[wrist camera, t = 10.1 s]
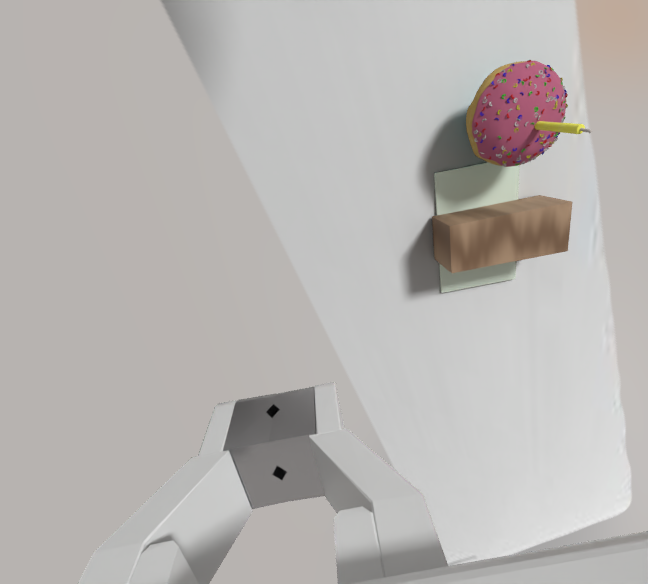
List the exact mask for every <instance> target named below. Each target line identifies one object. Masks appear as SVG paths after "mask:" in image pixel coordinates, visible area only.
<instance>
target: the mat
mask: <svg viewBox="0 0 648 584" xmlns="http://www.w3.org/2000/svg"><path fill="white" fill-rule="evenodd" d="M434 181H435V198H436V216H437V215H442V214H447V213H452V212H458V211H463V210H468V209H473V208H478V207H483V206H488V205H493V204H498V203H503V202H508V201H513V200H518V188H519V165H518V166H511V167H504V166H498V165H495V164H491V163H489V162H487V163H482V164H477V165H472V166H467V167H462V168H457V169H452V170H447V171H442V172H437V173H434ZM439 269H440V286H441V293H444V292H449V291H455V290H460V289H465V288H470V287H475V286H480V285H486V284H491V283H496V282H501V281H506V280H512V279H515V274H516V261H513V262H508V263H503V264H498V265H493V266H487V267H482V268H477V269H472V270H467V271H462V272H457V273H451V272H449V271H448V270H447V269H446V268H445V267H443V266H442V265H441V264H440V263H439Z"/></svg>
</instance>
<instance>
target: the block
mask: <svg viewBox="0 0 648 584" xmlns="http://www.w3.org/2000/svg"><path fill="white" fill-rule="evenodd" d="M571 210H572V202H570V201H565V200H561V199H556V198H551V197H546V196H541V195H539V196H533V197H528V198H523V199H518V200H513V201H508V202H503V203H498V204H493V205H488V206H483V207H478V208H473V209H468V210H463V211H458V212H452V213H447V214H442V215H437V216H432V226H433V242H434V258H435V260H436V261H438V262H439V263H440V264H441V265H442V266H443V267H445V268H446V269H447V270H448V271H449V272H451V273H457V272H462V271H467V270H472V269H477V268H482V267H487V266H493V265H498V264H503V263H508V262H513V261H518V260H523V259H529V258H534V257H539V256H544V255H549V254H554V253H560V252H565V251H568V241H569V231H570V220H571Z"/></svg>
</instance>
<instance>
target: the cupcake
mask: <svg viewBox="0 0 648 584" xmlns="http://www.w3.org/2000/svg"><path fill="white" fill-rule="evenodd" d="M548 66H549V65H547V66H546V65H544V64H542V63H540V62H537V61H531V60H529V61H524V62H515V63H511V64H507V65H504V66H501V67H499V68H497V69H496V70H494V71H493V72H492V73H491V74H490V75H489V76H488V77H487V78H486V79H485V80H484V82H483V83H482V85H481V86H480V88H479V89H478V91H477V93H476V95H475V98H474V100H473V102H472V103H471V105H470V106H469V108H468V110H467V116H466V128H467V134H468V137H469V141H470V144H471V146H472V149H473V152H474V154H475V155H476V156H477V157H478V158H480V159H483V160H485V161H487V162H489V163H491V164H495V165H498V166H504V167H511V166H518V165H521V164H524V163H526V162H529V161H531V160H534V159H535V158H536V157H537V156H539V155H540V154H542V155H543V153H544V151H547V150H548V149H549V148H548V147H551V146H552V144H553V143H554V141H557V139H558V138H557V137H558V136H557V135H559V134H560V132H564V133H574V134H581V133H582V132H589V133H591V132H592V130H590V129H584V128H585V126H584V125H583V124H571V123H563V121H564V119H565V117H564V116H565V108H567V106H568V105H567V104H566V97H567V93H566V90H564V89H565V86H563V84H562V78H559V77H558V75H557V74H556V73H555V72H554V71H553V68H551V67H550V66H549V67H548ZM560 79H561V80H560ZM564 91H565V92H564ZM565 96H566V97H565ZM555 138H556V139H555ZM554 139H555V140H554ZM550 145H551V146H550Z"/></svg>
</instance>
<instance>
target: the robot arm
mask: <svg viewBox="0 0 648 584" xmlns="http://www.w3.org/2000/svg"><path fill="white" fill-rule="evenodd" d="M320 496H325V497H326V498H327V500H328V501H329V503H330V504H331V506H332V507H333V509H334V510H335V511H336V513H337V515H336V516H335V518H334V534H335V547H336V562H337V578H338V584H648V531H646V532H639V533H633V534H628V535H622V536H617V537H611V538H606V539H600V540H594V541H588V542H583V543H577V544H571V545H566V546H560V547H554V548H548V549H543V550H537V551H531V552H526V553H520V554H514V555H509V556H503V557H497V558H492V559H486V560H480V561H475V562H469V563H463V564H458V565H452V566H448V564H447V561H446V558H445V556H444V553H443V550H442V547H441V544H440V541H439V538H438V535H437V533H436V530H435V527H434V524H433V521H432V518H431V515H430V512H429V510H428V507H427V504H426V501H425V498H424V495H423V494H422V493H421V492H420V491H419V490H418V489H417V488H416V487H414V486H413V485H412V484H411V483H410V482H409V481H407V480H406V479H405V478H404V477H403V476H402V475H401V474H399V473H398V472H397V471H396V470H395V469H394V468H392V467H391V466H390V465H389V464H388V463H387V462H386V461H384V460H383V459H382V458H381V457H380V456H379V455H377V454H376V453H375V452H374V451H373V450H372V449H370V448H369V447H368V446H367V445H366V444H365V443H364V442H362V441H361V440H360V439H359V438H358V437H357V436H355V435H354V434H353V433H352V432H351V431H350V430H349V429H344V424H343V419H342V414H341V409H340V405H339V400H338V394H337V390H336V386H335V383H334V382H330V383H326V384H321V385H317V386H315V387H310V388H305V389H300V390H294V391H289V392H284V393H279V394H271V395H265V396H259V397H253V398H247V399H241V400H238V401H231V402H224V403H219V404H218V405H216V407H215V408H214V411H213V414H212V417H211V420H210V422H209V425H208V428H207V431H206V434H205V437H204V440H203V443H202V446H201V449H200V451H199V454H198V456H195V457H191V459H190V460H188V461H187V462H186V463H185V464H184V465H183V466H182V467H181V468H180V469H179V470H178V471H177V472H176V473H175V474H174V475H173V476H172V477H171V478H170V479H169V480H168V481H167V482H166V483H165V484H164V485H163V486H162V487H161V488H160V489H159V490H158V491H157V492H155V494H153V495H152V496H151V497H150V498H149V499H148V500H147V502H145V503H144V504H143V505H142V506H141V507H140V508H139V509H138V510H137V511H136V512H135V513H134V514H133V515H132V516H131V517H130V518H129V519H128V520H127V521H126V522H125V523H124V524H123V525H122V526H121V527H120V528H119V529H117V530H116V531H115V532H114V533H113V534H112V535H111V536H110V537H109V538H108V539H107V540H106V541H105V542H104V543H103V544H102V545H101V546H100V547H99V548H98V549H97V550H96V551H95V552H94V553H93V555H92V557H91V559H90V561H89V563H88V565H87V567H86V569H85V571H84V572H83V574H82V576H81V578H80V580H79V582H78V584H209V583H210V581H211V579H212V578H213V576H214V575H215V573H216V571H217V570H218V568H219V566H220V565H221V563H222V561H223V560H224V558H225V556H226V555H227V553H228V551H229V550H230V548H231V547H232V545H233V543H234V542H235V540H236V538H237V536H238V535H239V533H240V532H241V530H242V528H243V527H244V525H245V523H246V522H247V520H248V518H249V517H250V515H251V513H252V509H255V508H259V507H264V506H269V505H273V504H278V503H283V502H288V501H294V500H301V499H307V498H314V497H320Z"/></svg>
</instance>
